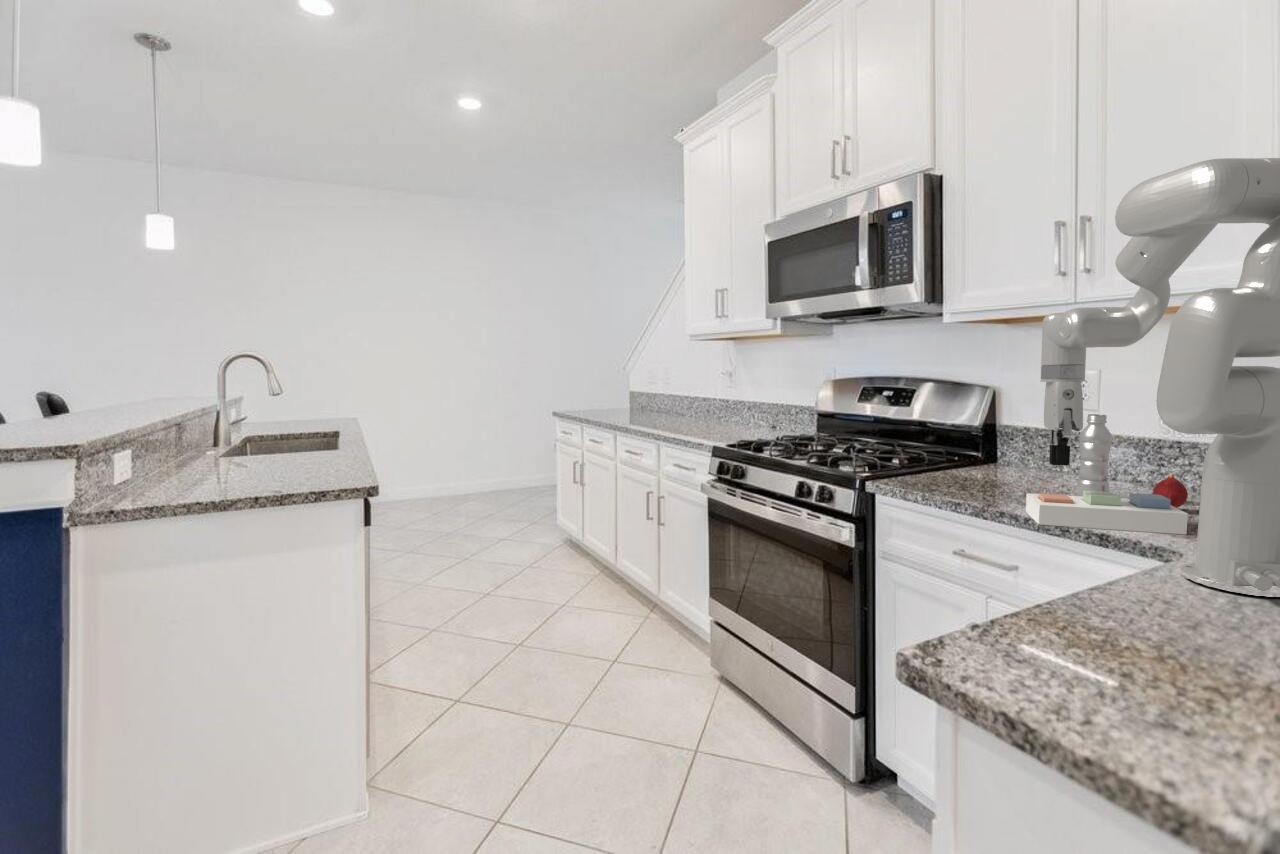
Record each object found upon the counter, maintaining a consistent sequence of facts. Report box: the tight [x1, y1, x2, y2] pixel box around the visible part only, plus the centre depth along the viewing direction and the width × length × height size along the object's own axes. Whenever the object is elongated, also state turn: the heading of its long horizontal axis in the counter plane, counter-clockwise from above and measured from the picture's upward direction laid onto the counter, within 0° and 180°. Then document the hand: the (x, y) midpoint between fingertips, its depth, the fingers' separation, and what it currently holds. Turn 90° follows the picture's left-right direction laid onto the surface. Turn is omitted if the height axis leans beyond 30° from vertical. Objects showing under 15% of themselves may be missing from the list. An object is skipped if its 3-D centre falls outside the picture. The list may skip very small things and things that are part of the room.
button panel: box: [1025, 492, 1189, 535], centre depth 130 cm, size 12×24×4 cm, turn 70°
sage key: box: [1083, 491, 1122, 506], centre depth 129 cm, size 5×5×3 cm
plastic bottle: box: [1075, 413, 1113, 496], centre depth 150 cm, size 6×7×20 cm
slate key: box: [1129, 492, 1171, 509], centre depth 127 cm, size 5×5×3 cm
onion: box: [1152, 473, 1189, 509], centre depth 139 cm, size 6×6×8 cm
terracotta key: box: [1037, 493, 1073, 504], centre depth 132 cm, size 5×5×3 cm
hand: (1059, 464), depth 131 cm, fingers closed
